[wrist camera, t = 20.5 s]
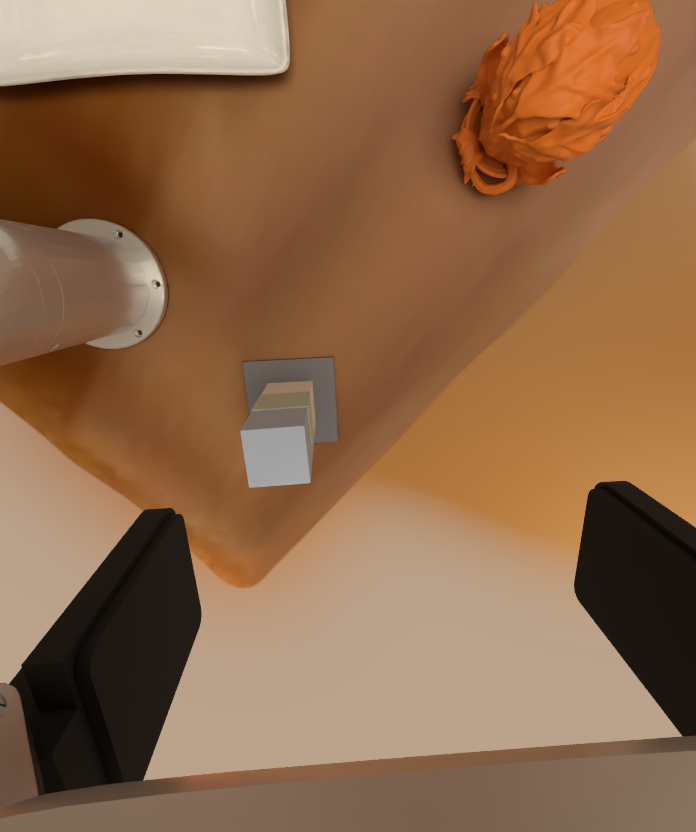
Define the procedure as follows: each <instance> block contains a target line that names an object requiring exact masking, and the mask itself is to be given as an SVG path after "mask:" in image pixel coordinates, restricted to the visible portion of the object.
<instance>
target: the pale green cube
mask: <svg viewBox="0 0 696 832" xmlns="http://www.w3.org/2000/svg"><path fill="white" fill-rule="evenodd" d="M299 407H307V408H308V418H309V428H310V438H311V448H312V457H313V446H314V429H313V418H312V406H311V395H310V391H309V392H293V393H278V394H263V395H260V396H259V398H258V400H257V402H256V403H255V405H254V407H253V408H252V411H260V410H273V409H286V408H299Z"/></svg>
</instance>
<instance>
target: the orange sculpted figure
mask: <svg viewBox="0 0 696 832" xmlns="http://www.w3.org/2000/svg"><path fill="white" fill-rule="evenodd" d="M659 32H660V27H658V24H657V22H656V21H655V19H654V17H653V10H652V6H651V4H650V3H649V0H558V1H557V2H555V3H553V4H551V5H550V4H544V5H543V6H541V7H540V9H539V10H538V6H537V2H535V3H534V4H533V6H532V9H531V14H530V17H529V19H528V21H526V22H525V23H524V24H523V26H522V27H521V28H520V30H519V34H518V35H517V36H516V37H514V38H513V40H512V41H511V43H510V44H509V45H508V46H506V44H507V42H508V40H509V35H508V34H507V33H506V32H505V33H504V34H503V35H501V36H500V37H499V38H498V41H497V42H495V43H493V44H492V45H491V46H490V47H489V48H488V49H487V51H486V52H485V54H484V56H483V59H482V62H481V65H480V68H479V70H478V72H477V79H476V80H475V81H474V84H473V85H472V86H470V87H469V89H468V91H466V92H465V93H466V96H465V98H464V99H463V100H462V102H463V103H467V102H468V100H470V99H471V98H474V101H473V103H472V105H471V107H470V110H469V112H468V114H467V115H466V116H465V118H464V121H463V124H462V126H461V129H460V132H458V133H457V134H455V135H454V136H453V137H452V139H453V140H456V144H457V146H458V149H459V151H460V152H459V155H461V156H462V160H461V164H460V165H462V164H463V170H464V173H465V175H464V184H466V183H467V182H468V181H469V179H471V180H472V182H473V185H472V186H475V187H476V188H477V189H478V190H479V191H480V192H482V193H483V194H487V195H495V196H496V195H497V194H500V193H503V192H506V191H508V190H509V189H511V188H512V187H513V186H517V185H520V184H523V183H524V182H525V183H526V184H528V185H532V184H534V185H546V184H549V183H550V181H551V180H553V179H554V178H555V177H561V175H562V174H563V173H565V172H566V168H565V167H563V166H562V167H560V168H559V164H558V163H556V162H552V161H555V160H561V161H568V160H572V159H573V158H576V157H580V156H582V155H584V154H585V153H586V152H588V151H589V150H590V149H591V148H592V147H593V146H594V145H595V144H596V143H597V142H599V141H600V140H602V139H603V138H605V136H606V134H608V133H609V132H610V131H611V130H612V127H613V125H614V123H615V122H617V121H618V120H619V119H620V118H621V117H622V116H623V115H624V114H625V113H626V112H627V110H628V109H629V108H630V107H631V105H632V104H633V103H634V101H635V100H636V98H637V97H638V95H639V94H640V93H641V91H642V90H643V89H644V87H645V86H646V84H647V83H648V82H649V80H650V79H651V77H652V75H653V73H654V70H655V68H656V65H657V58H658V51H659V47H660V42H661V35H660V33H659ZM475 167H476V168H477V169H479V170H480V171H481V172H482V173H484V174H486V175H488V176H491V177H495V178H506V180H505V181H503V182H502V183H499V184H495V185H488V184H485V183H484V182H483V181H482V180H481V178H480V177H479V175H478V173H477V170H476V168H475ZM472 186H471V187H472Z"/></svg>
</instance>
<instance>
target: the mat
mask: <svg viewBox="0 0 696 832" xmlns="http://www.w3.org/2000/svg"><path fill="white" fill-rule="evenodd" d="M243 370H244V378H245V386H246V394H247V402H248V410H249V414H250V413H251V411H252V408H253V407H254V405H255V403H256V402H257V400H258V398H259V396H260V395H261V394H262V393H263V391H264V389H265V387H266V385H267V384H268V383H280V382H299V381H313V393H314V407H315V421H316V424H315V435H314V443H322V442H338V429H337V411H336V393H335V374H334V357H320V358H301V359H281V360H261V361H243Z"/></svg>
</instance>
